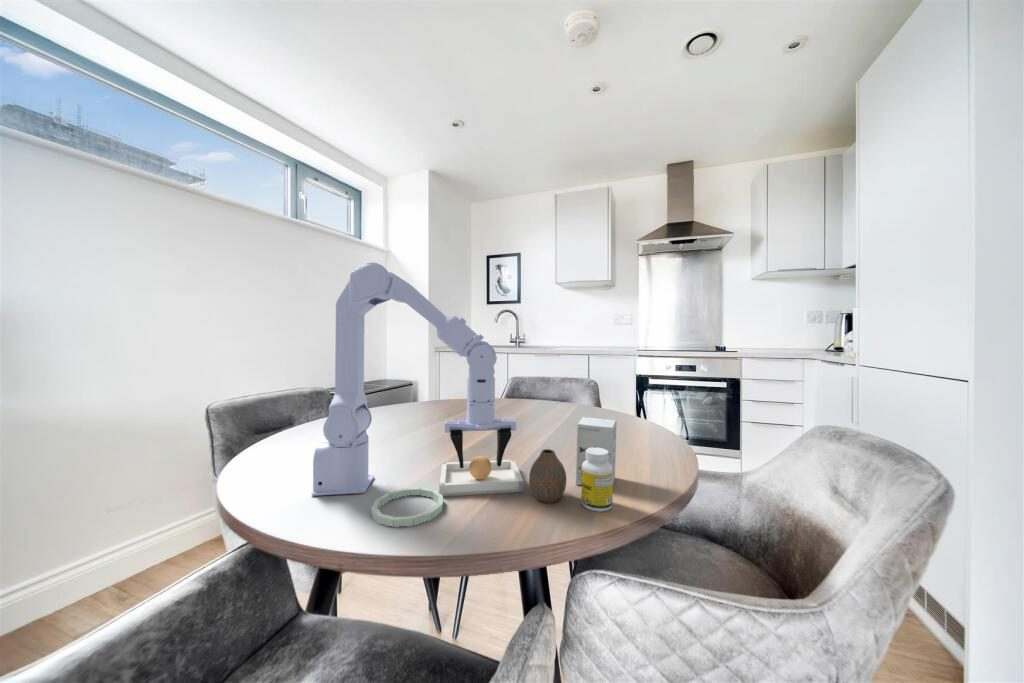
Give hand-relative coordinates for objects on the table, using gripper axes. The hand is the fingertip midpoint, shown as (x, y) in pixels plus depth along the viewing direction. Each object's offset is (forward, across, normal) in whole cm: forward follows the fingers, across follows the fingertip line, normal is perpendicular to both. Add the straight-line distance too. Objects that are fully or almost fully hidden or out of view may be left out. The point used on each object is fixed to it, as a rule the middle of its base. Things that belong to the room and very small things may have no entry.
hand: (480, 465), depth 73 cm
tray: (+3, 0, 0) cm, 3 cm away
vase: (+4, +12, -9) cm, 15 cm away
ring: (+3, -13, -10) cm, 17 cm away
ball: (0, 0, 0) cm, 0 cm away
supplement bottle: (+3, +20, -13) cm, 24 cm away
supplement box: (+4, +24, -3) cm, 24 cm away
